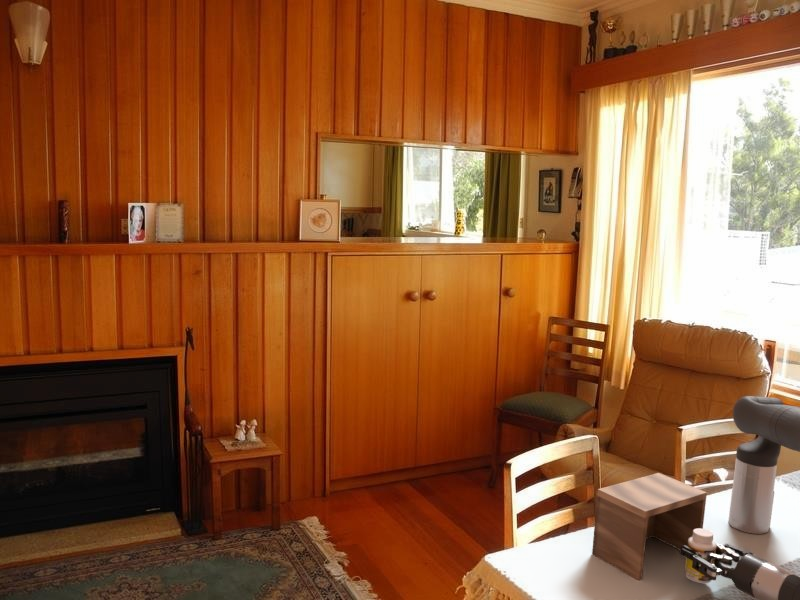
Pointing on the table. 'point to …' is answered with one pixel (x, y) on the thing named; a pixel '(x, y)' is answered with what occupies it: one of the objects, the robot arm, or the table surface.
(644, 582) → the table surface
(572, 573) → the table surface
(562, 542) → the table surface
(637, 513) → the cubby
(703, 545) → the supplement bottle
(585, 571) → the table surface
